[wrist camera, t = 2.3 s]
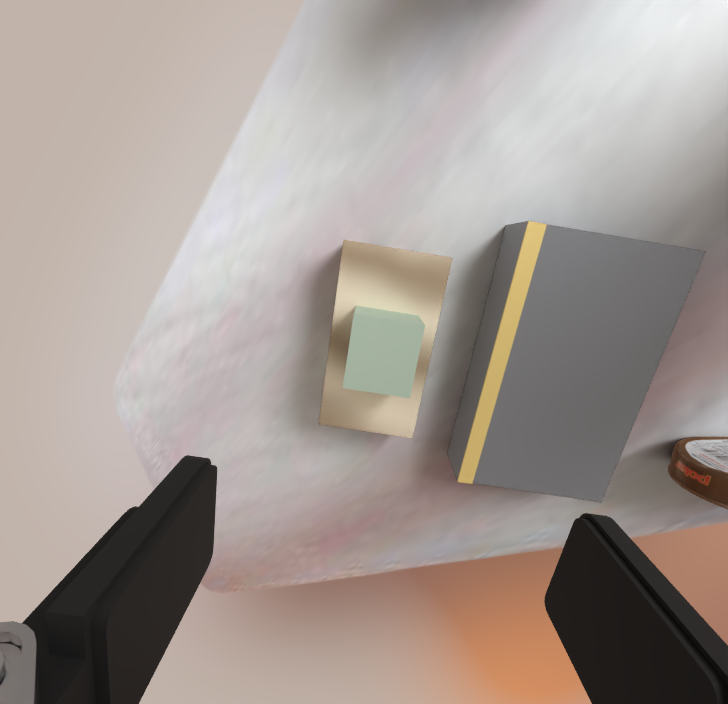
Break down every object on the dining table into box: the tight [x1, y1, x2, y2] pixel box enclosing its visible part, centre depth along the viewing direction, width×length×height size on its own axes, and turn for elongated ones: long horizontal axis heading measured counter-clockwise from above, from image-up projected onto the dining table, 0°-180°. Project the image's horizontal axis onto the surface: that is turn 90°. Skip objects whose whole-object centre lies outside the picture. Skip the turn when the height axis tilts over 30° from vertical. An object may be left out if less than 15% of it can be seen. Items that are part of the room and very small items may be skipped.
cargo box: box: [343, 305, 425, 398], centre depth 24 cm, size 5×4×3 cm
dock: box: [447, 221, 706, 502], centre depth 28 cm, size 20×12×4 cm, turn 171°
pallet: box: [319, 240, 452, 438], centre depth 28 cm, size 14×8×4 cm, turn 171°
